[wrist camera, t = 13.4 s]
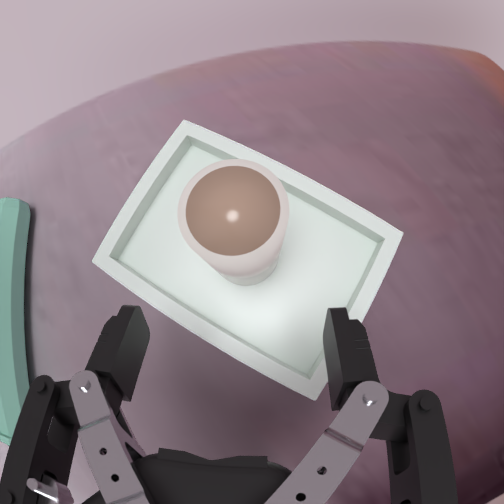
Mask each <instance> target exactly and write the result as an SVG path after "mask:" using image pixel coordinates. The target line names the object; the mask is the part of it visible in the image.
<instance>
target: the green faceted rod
mask: <svg viewBox="0 0 504 504" xmlns="http://www.w3.org/2000/svg"><path fill="white" fill-rule="evenodd" d="M29 223H30V209H29V205H28V203H26V202H24V201H22V200H20V199H15V198H8V197H6V198H2V199H0V441H1V442H3V443H5V444H7V445H9V446H10V443H11V439H12V436H13V433H14V430H15V427H16V424H17V421H18V418H19V415H20V412H21V409H22V406H23V404H24V401H25V398H26V395H27V393H28V390H29V388H30V387H29V379H28V371H27V361H26V349H25V332H24V278H25V261H26V249H27V239H28V230H29Z"/></svg>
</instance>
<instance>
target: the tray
mask: <svg viewBox="0 0 504 504" xmlns="http://www.w3.org/2000/svg"><path fill="white" fill-rule="evenodd" d="M227 159H244V160H249V161H253V162H256V163H258V164H260V165H262V166H264V167H266V168H267V169H269V170H270V171H271V172H272V173H273V174H274V175H275V176H277V178H278V179H279V180H280V182H281V183H282V185H283V186H284V188H285V191H286V193H287V196H288V200H289V220H288V224H287V228H286V232H285V236H284V240H283V244H282V248H281V252H280V256H279V259H278V263H277V265H276V268H275V269H274V271H273V272H272V274H271V275H270V276H269V277H268V278H267V279H265V280H264V281H262V282H260V283H258V284H255V285H249V286H242V285H237V284H234V283H232V282H230V281H228V280H226V279H225V278H224V277H223V276H222V275H220V274H219V273H218V272H217V271H216V270H215V269H214V268H212V267H211V266H210V265H209V264H208V263H207V262H206V261H205V260H203V259H202V258H201V257H200V256H199V255H198V254H197V253H196V252H194V251H193V250H192V249H191V248H190V247H189V245H188V244H187V243H186V241H185V240H184V238H183V236H182V234H181V231H180V228H179V225H178V218H177V210H178V203H179V200H180V196H181V194H182V192H183V190H184V188H185V186H186V185H187V183H188V182H189V181H190V179H191V178H192V177H193V176H194V175H195V174H196V173H198V172H199V171H200V170H201V169H203V168H205V167H206V166H208V165H210V164H212V163H215V162H218V161H222V160H227ZM402 236H403V232H401V231H400V230H398V229H396V228H395V227H393V226H392V225H390V224H388V223H387V222H385V221H383V220H382V219H380V218H379V217H377V216H375V215H374V214H372V213H370V212H369V211H367V210H365V209H364V208H362V207H360V206H358V205H357V204H355V203H353V202H352V201H350V200H348V199H346V198H345V197H343V196H341V195H339V194H337V193H336V192H334V191H332V190H330V189H328V188H327V187H325V186H323V185H321V184H319V183H317V182H316V181H314V180H312V179H310V178H308V177H306V176H304V175H302V174H300V173H299V172H297V171H295V170H293V169H291V168H289V167H287V166H285V165H283V164H281V163H279V162H277V161H275V160H273V159H271V158H269V157H267V156H265V155H263V154H261V153H258V152H256V151H254V150H252V149H250V148H248V147H246V146H244V145H242V144H239V143H237V142H235V141H233V140H231V139H228V138H226V137H224V136H222V135H219V134H217V133H215V132H213V131H210V130H208V129H206V128H203V127H201V126H198V125H196V124H194V123H191V122H189V121H186V120H183V121H182V123H181V124H180V125H179V127H178V128H177V129H176V130H175V132H174V133H173V134H172V136H171V137H170V138H169V140H168V141H167V143H166V144H165V145H164V147H163V148H162V149H161V151H160V152H159V154H158V155H157V156H156V158H155V159H154V161H153V162H152V164H151V165H150V166H149V168H148V169H147V171H146V172H145V174H144V175H143V177H142V178H141V180H140V181H139V183H138V184H137V186H136V187H135V189H134V190H133V192H132V193H131V195H130V197H129V198H128V200H127V201H126V203H125V205H124V206H123V208H122V209H121V211H120V213H119V214H118V216H117V218H116V219H115V221H114V223H113V224H112V226H111V228H110V229H109V231H108V233H107V235H106V236H105V238H104V240H103V242H102V243H101V245H100V247H99V249H98V251H97V252H96V254H95V256H94V258H93V260H92V262H93V263H94V264H95V265H97V266H98V267H99V268H101V269H102V270H103V271H104V272H106V273H107V274H108V275H110V276H111V277H112V278H114V279H115V280H116V281H118V282H119V283H121V284H122V285H123V286H125V287H126V288H127V289H129V290H130V291H132V292H133V293H134V294H136V295H137V296H139V297H140V298H141V299H143V300H144V301H146V302H147V303H149V304H150V305H151V306H153V307H154V308H156V309H157V310H159V311H160V312H162V313H163V314H165V315H166V316H168V317H169V318H171V319H172V320H174V321H175V322H177V323H178V324H180V325H181V326H183V327H184V328H186V329H188V330H189V331H191V332H192V333H194V334H195V335H197V336H199V337H200V338H202V339H203V340H205V341H207V342H208V343H210V344H212V345H213V346H215V347H217V348H218V349H220V350H222V351H223V352H225V353H227V354H228V355H230V356H232V357H233V358H235V359H237V360H239V361H240V362H242V363H244V364H246V365H247V366H249V367H251V368H253V369H254V370H256V371H258V372H260V373H262V374H264V375H265V376H267V377H269V378H271V379H273V380H275V381H277V382H278V383H280V384H282V385H284V386H286V387H288V388H290V389H292V390H294V391H296V392H298V393H300V394H302V395H304V396H306V397H308V398H310V399H312V400H314V401H316V399H317V398H318V396H319V395H320V393H321V391H322V390H323V388H324V387H325V385H326V383H327V382H328V376H327V369H326V362H325V355H324V348H323V330H324V325H325V319H326V314H327V309H328V308H339V307H346V309H347V312H348V316H349V320H350V319H358V320H359V321H360V322H361V323H362V321H363V319H364V317H365V315H366V313H367V311H368V309H369V307H370V305H371V303H372V301H373V299H374V297H375V295H376V293H377V291H378V289H379V287H380V285H381V283H382V281H383V279H384V277H385V274H386V272H387V270H388V268H389V266H390V263H391V261H392V259H393V257H394V254H395V252H396V250H397V247H398V245H399V243H400V240H401V238H402Z"/></svg>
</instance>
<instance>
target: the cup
mask: <svg viewBox="0 0 504 504" xmlns="http://www.w3.org/2000/svg"><path fill="white" fill-rule="evenodd" d="M177 218H178V225H179V228H180V231H181V234H182V236H183V238H184V240H185V241H186V243H187V244H188V245H189V247H190V248H191V249H192V250H193V251H194V252H196V253H197V254H198V255H199V256H200V257H201V258H202V259H203V260H205V261H206V262H207V263H208V264H209V265H210V266H211V267H212V268H214V269H215V270H216V271H217V272H218V273H219V274H220V275H222V276H223V277H224V278H225V279H226V280H228V281H230V282H232V283H234V284H237V285H242V286H249V285H255V284H258V283H260V282H262V281H264V280H265V279H267V278H268V277H269V276H270V275H271V274H272V272H273V271H274V269H275V268H276V265H277V263H278V259H279V256H280V252H281V248H282V244H283V240H284V236H285V232H286V228H287V224H288V220H289V200H288V196H287V193H286V191H285V188H284V186H283V185H282V183H281V182H280V180H279V179H278V178H277V176H275V175H274V174H273V173H272V172H271V171H270V170H269V169H267V168H266V167H264V166H262V165H260V164H258V163H256V162H253V161H249V160H244V159H227V160H222V161H218V162H215V163H212V164H210V165H208V166H206V167H205V168H203V169H201V170H200V171H199V172H198V173H196V174H195V175H194V176H193V177H192V178H191V179H190V181H189V182H188V183H187V185H186V186H185V188H184V190H183V192H182V194H181V196H180V200H179V203H178V210H177Z"/></svg>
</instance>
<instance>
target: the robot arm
mask: <svg viewBox="0 0 504 504" xmlns="http://www.w3.org/2000/svg"><path fill="white" fill-rule="evenodd" d="M149 338H150V332H149V328H148V325H147V323H146V320H145V317H144V315H143V312H142V310H141V308H140V306H132V305H123V306H122V307H121V309H120V311H119V313H118V315H117V316H112V317H111V318H110V319H109V320H108V321H107V322H106V324H105V325H104V327H103V330H102V332H101V335H100V336H99V338H98V342H97V343H96V345H95V347H94V350H93V352H92V354H91V357H90V359H89V361H88V364H87V366H86V368H85V370H84V371H80V372H78V373H77V374H75V375H74V376H73V377H72V379H71V380H68V381H60V382H54V381H53V379H52V378H51V377H49V376H47V375H41V376H38V377H37V378H35V379H34V380H33V382H32V383H31V385H30V388H29V390H28V393H27V395H26V398H25V401H24V404H23V406H22V409H21V412H20V415H19V418H18V421H17V424H16V427H15V430H14V433H13V436H12V439H11V443H10V446H9V450H8V453H7V457H6V461H5V464H4V468H3V472H2V477H1V481H0V504H73V503H74V500H73V498H72V496H71V492H70V490H69V489H68V488H67V484H68V479H69V474H70V469H71V464H72V460H73V455H74V451H75V447H76V442H77V438H78V436H79V439H80V442H81V445H82V447H83V450H84V453H85V455H86V458H87V461H88V463H89V466H90V468H91V471H92V473H93V476H94V478H95V480H96V482H97V485H98V487H99V489H100V490H99V491H98V492H96V493H95V494H94V495H92V496H91V497H90V498H88V499H87V500H86V501H84V502H83V503H82V504H325V503H326V501H327V500H328V499H329V498H330V496H331V495H332V494H333V492H334V491H335V489H336V488H337V487H338V485H339V484H340V483H341V481H342V480H343V478H344V477H345V475H346V474H347V473H348V471H349V470H350V468H351V467H352V465H353V464H354V462H355V461H356V459H357V458H358V456H359V454H360V453H361V451H362V449H363V446H364V444H365V443H366V441H367V439H368V438H374V439H380V440H386V445H387V455H388V466H389V478H390V494H391V504H458V498H457V489H456V481H455V474H454V467H453V461H452V455H451V449H450V444H449V438H448V433H447V429H446V424H445V420H444V415H443V411H442V407H441V403H440V400H439V398H438V397H437V395H436V394H434V393H433V392H431V391H429V390H419V391H417V392H415V393H414V394H413V395H412V396H409V395H402V394H396V393H393V392H390V391H388V390H387V389H386V388H385V387H384V386H383V385H382V384H381V383H380V381H379V378H378V375H377V371H376V367H375V363H374V359H373V355H372V351H371V349H370V344H369V341H368V336H367V333H366V329H365V327H364V326H363V325H362V324H361V322H360V321H359V320H358V319H350V320H349V316H348V312H347V309H346V307H339V308H328V309H327V314H326V319H325V325H324V330H323V348H324V355H325V362H326V369H327V376H328V384H329V391H330V399H331V407H332V411H335V410H339V413H338V415H337V416H336V418H335V419H334V421H333V422H332V423H331V425H330V426H329V428H328V429H327V430H325V432H324V433H323V434H322V435H321V437H320V438H319V439H318V441H317V442H316V443H315V444H314V446H313V447H312V448H311V450H310V451H309V452H308V454H307V455H306V456H305V457H304V459H303V460H302V461H301V462H300V464H299V465H298V466H297V467H296V468H295V470H294V471H293V472H291V471H290V470H288V469H287V468H285V467H283V466H281V465H279V464H276V463H272V462H268V461H267V456H236V457H231V458H225V459H218V460H207V459H204V458H202V457H199V456H196V455H193V454H190V453H187V452H185V451H178V450H171V449H164V448H159V451H158V453H157V454H151V455H148V456H147V455H146V454H145V452H144V450H143V449H142V448H141V446H140V445H139V443H138V442H137V440H136V438H135V436H134V434H133V432H132V430H131V428H130V426H129V424H128V422H127V420H126V417H125V415H124V413H123V411H122V409H121V407H120V406H121V402H122V400H124V401H129V402H131V399H132V395H133V392H134V388H135V385H136V382H137V378H138V375H139V372H140V368H141V365H142V362H143V359H144V356H145V352H146V349H147V346H148V343H149ZM52 417H53V418H52ZM51 420H52V422H51ZM50 423H51V425H50ZM49 427H50V428H49ZM48 430H49V432H48ZM47 434H48V435H47Z"/></svg>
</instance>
